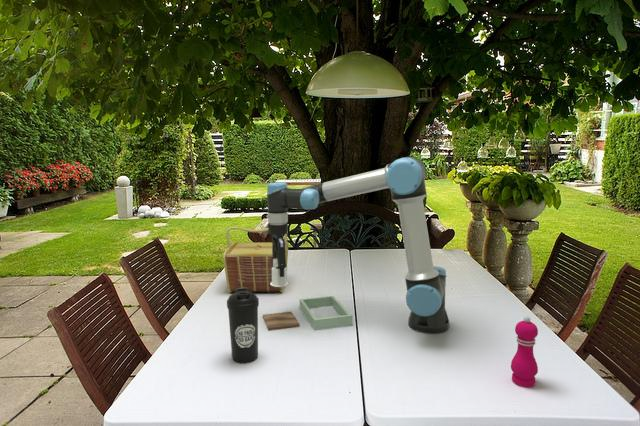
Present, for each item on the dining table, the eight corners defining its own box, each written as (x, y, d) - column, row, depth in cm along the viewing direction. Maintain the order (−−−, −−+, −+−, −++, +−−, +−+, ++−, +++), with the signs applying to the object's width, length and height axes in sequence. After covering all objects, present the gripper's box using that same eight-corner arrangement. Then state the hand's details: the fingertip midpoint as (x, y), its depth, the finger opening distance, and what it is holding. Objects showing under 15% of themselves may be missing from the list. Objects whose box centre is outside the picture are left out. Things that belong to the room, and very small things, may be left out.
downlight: (267, 282, 182) (267, 257, 180) (284, 280, 185) (284, 255, 183) (274, 289, 175) (273, 263, 173) (291, 286, 178) (291, 261, 176)
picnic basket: (222, 296, 213) (219, 232, 208) (234, 279, 238) (231, 222, 233) (286, 296, 212) (284, 232, 207) (291, 279, 237) (289, 221, 232)
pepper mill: (529, 375, 139) (533, 311, 136) (541, 388, 132) (546, 321, 129) (505, 375, 139) (509, 312, 136) (516, 388, 132) (520, 321, 129)
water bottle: (230, 366, 147) (227, 297, 144) (228, 352, 157) (225, 287, 153) (262, 362, 150) (260, 293, 146) (258, 348, 160) (255, 284, 156)
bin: (352, 325, 178) (352, 315, 177) (314, 330, 174) (314, 320, 173) (333, 304, 201) (333, 295, 200) (299, 308, 197) (299, 299, 196)
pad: (299, 326, 178) (299, 324, 177) (268, 330, 174) (268, 328, 174) (291, 313, 191) (291, 311, 191) (262, 317, 188) (262, 314, 188)
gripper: (263, 219, 185) (265, 274, 189) (272, 228, 166) (274, 290, 169) (282, 218, 187) (283, 273, 191) (293, 227, 168) (294, 288, 171)
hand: (279, 281), depth 180 cm, fingers closed on downlight, 8 cm apart
